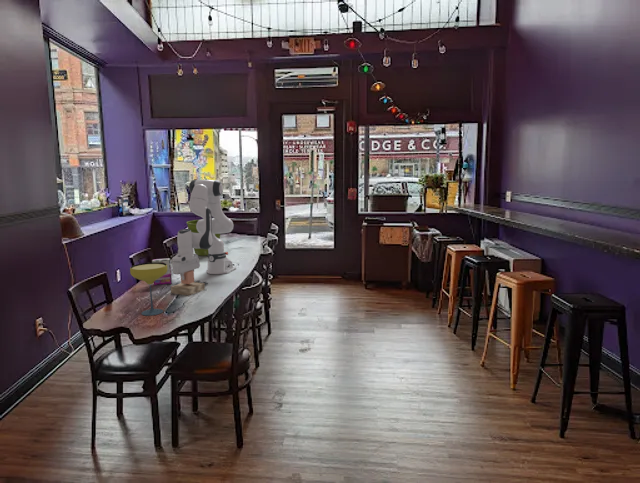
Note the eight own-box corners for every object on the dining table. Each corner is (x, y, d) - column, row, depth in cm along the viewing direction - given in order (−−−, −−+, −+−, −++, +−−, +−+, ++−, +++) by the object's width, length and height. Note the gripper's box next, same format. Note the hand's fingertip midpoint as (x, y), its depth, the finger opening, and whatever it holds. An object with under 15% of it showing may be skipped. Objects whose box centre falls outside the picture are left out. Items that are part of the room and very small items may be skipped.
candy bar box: (172, 282, 298) (170, 257, 295) (171, 284, 293) (170, 259, 290) (154, 283, 295) (152, 259, 292) (153, 285, 290) (151, 260, 287)
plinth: (187, 287, 284) (186, 280, 284) (204, 289, 278) (204, 282, 278) (171, 293, 272) (170, 286, 271) (189, 295, 266) (189, 288, 265)
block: (187, 281, 278) (186, 270, 277) (194, 281, 276) (193, 270, 274) (181, 283, 273) (180, 272, 272) (188, 284, 271) (187, 272, 269)
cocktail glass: (174, 306, 245) (171, 261, 241) (164, 317, 227) (160, 269, 223) (141, 307, 245) (137, 262, 241) (128, 318, 227) (124, 270, 223)
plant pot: (188, 252, 402) (186, 220, 397) (222, 249, 411) (220, 218, 406) (189, 258, 374) (186, 224, 369) (225, 256, 383) (223, 222, 378)
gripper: (193, 252, 282) (194, 274, 284) (170, 258, 264) (171, 281, 266) (201, 253, 279) (202, 275, 282) (178, 259, 261) (179, 282, 263)
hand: (187, 278), depth 274 cm, fingers closed on block, 5 cm apart
